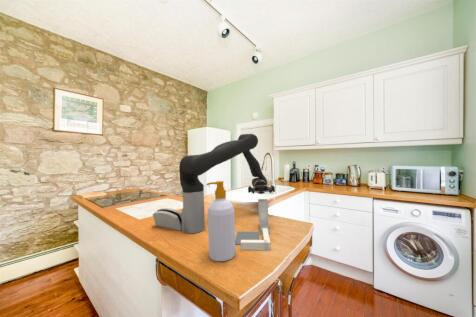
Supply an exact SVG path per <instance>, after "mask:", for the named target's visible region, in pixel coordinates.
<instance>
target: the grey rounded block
mask: <svg viewBox="0 0 476 317" xmlns="http://www.w3.org/2000/svg"><path fill="white" fill-rule="evenodd" d="M152 217H153V220H154V224H155V226H156V227H161V228H166V229H171V230H176V231H181V232H182V216H181V212H180V211H179V210H177V209H173V208H169V207H163V208H160V209H157V210H156V211H154V213H152Z"/></svg>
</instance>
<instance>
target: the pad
mask: <svg viewBox="0 0 476 317" xmlns="http://www.w3.org/2000/svg"><path fill="white" fill-rule="evenodd" d="M241 240H260V231H237V232H236V234H235V246H241Z"/></svg>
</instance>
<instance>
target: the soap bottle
mask: <svg viewBox="0 0 476 317" xmlns="http://www.w3.org/2000/svg"><path fill="white" fill-rule="evenodd" d="M209 185H216V188H215V190H214V197H215V198H214V200H212V201H211V203H210V204H209V206H208V209H207V228H208V229H207V230H208V256H209V258H210V259H211V260H212V261H213V262H227V261H229V260H232V259H233V258H234V257H235V256H236V253H237V252H236V250H237V249H236V245H235V240H236V226H235V222H236V221H235V208H234V206H233V204H232V203H231V201H230V200H228V199H227V192H226V189H225V187H224V180H218V181H211V182H208V183H206V186H209Z"/></svg>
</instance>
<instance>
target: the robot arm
mask: <svg viewBox="0 0 476 317" xmlns="http://www.w3.org/2000/svg"><path fill="white" fill-rule="evenodd" d="M258 143H259V139H258V137H257V135H256V134H254V133H242V134H240V135H239V136H238V137H237V139H236V140H230V141H225V142H222V143H220V144H218V145H216V146H215V147H214V148H213V149H212V150H210V151H208V152H205V153H201V154H191V155H186V156H183V157H182V158H181V160H180V162H179V166H178V169H179V170H178V171H179V183H180V187H181V189H182V209H181V210H180V211H181V212H180V213H181V216H182V230H181V232H182V233H186V234H196V233H200V232H203V231H205V229H206V222H205V219H206V218H205V217H206V216H205V193H204V192H205V190H204V188H205V186H204V184H203V183H202V182H201V181H200V179H199V176H201V175H203V174H205V173H206V172H208V171H209V170H211V169H213V168H215V167H216V166H218V165H220V164H222V163H224V162H226V161H227V162H228V161H229V160H231V159H233V158H235V157H237V156H239V155H241V154H242V155H243V157H244V158H245V161H246V162H247V164H248V167H249V170H250V173H251V176H252V177H253V179H252V180H251V185H252V186H251V185H250V186H248V188H247V192H248V193H249V194H250V193H251V194H253V195H254V194H259V195H262V194H266V193H269V194H272V193H275V192H276V188H275V186H274V185H268V180H267V177H266V176H265V175H264V174H263V170H262V169H261V165H260V162H259V160H257V158H256V157H255V156H254V154H252V152H251V150H253V149H255V148H256V147H257V146H258Z"/></svg>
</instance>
